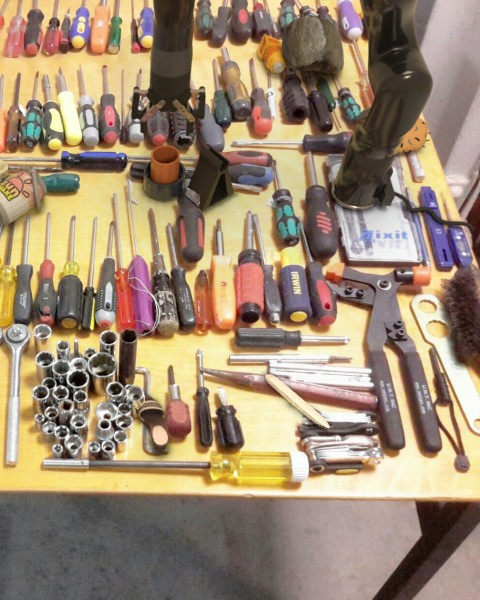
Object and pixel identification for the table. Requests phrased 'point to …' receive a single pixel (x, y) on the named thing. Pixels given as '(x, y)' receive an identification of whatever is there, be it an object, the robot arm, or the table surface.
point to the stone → (313, 45)
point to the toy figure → (272, 54)
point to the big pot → (163, 185)
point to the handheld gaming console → (3, 170)
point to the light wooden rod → (296, 400)
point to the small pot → (165, 164)
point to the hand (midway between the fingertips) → (166, 133)
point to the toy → (415, 137)
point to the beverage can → (20, 195)
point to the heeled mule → (154, 422)
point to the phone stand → (211, 178)
